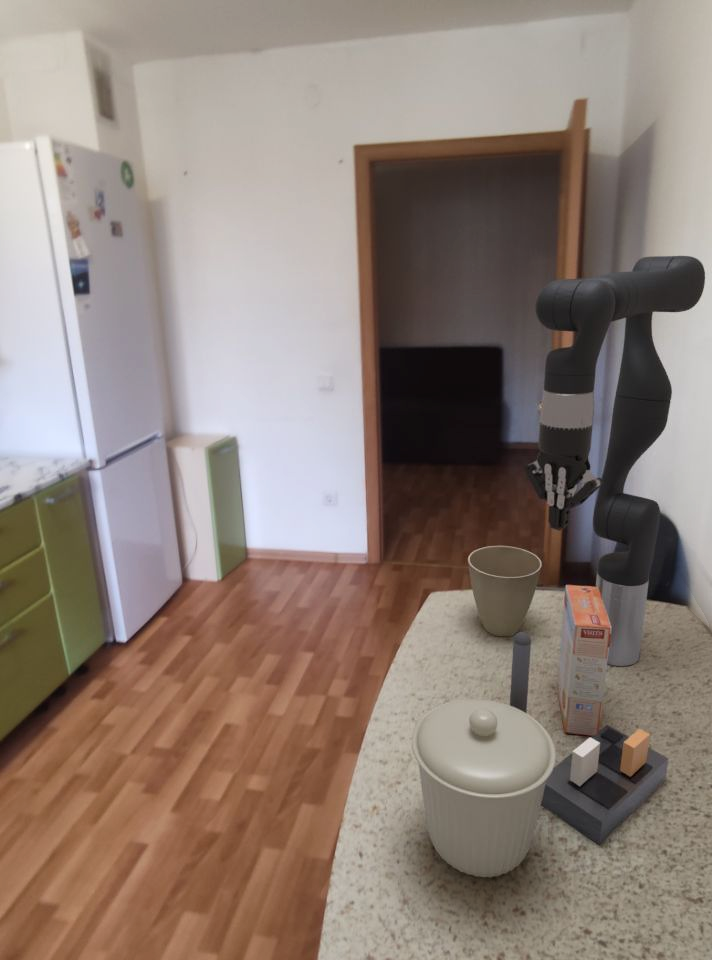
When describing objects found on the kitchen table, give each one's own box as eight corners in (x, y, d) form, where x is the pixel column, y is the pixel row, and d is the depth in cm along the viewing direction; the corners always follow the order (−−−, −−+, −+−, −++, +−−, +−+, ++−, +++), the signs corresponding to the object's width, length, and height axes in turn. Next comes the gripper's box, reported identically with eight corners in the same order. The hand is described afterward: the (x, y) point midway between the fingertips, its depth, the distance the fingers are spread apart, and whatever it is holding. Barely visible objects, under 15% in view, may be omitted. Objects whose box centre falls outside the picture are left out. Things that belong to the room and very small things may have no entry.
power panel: (604, 745, 107) (607, 723, 105) (665, 780, 99) (668, 756, 98) (537, 801, 96) (539, 778, 94) (599, 845, 88) (602, 820, 87)
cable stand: (509, 756, 105) (517, 615, 97) (547, 780, 100) (558, 634, 92) (480, 777, 101) (486, 632, 93) (518, 804, 95) (527, 653, 87)
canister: (544, 801, 96) (554, 678, 89) (550, 916, 79) (563, 775, 73) (420, 783, 100) (421, 663, 93) (401, 888, 83) (401, 752, 77)
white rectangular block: (587, 765, 96) (590, 737, 95) (597, 771, 95) (600, 742, 94) (569, 779, 94) (572, 751, 92) (579, 786, 93) (582, 757, 91)
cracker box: (601, 738, 108) (613, 626, 101) (562, 734, 109) (572, 623, 103) (589, 687, 121) (600, 585, 114) (555, 683, 122) (564, 582, 116)
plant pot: (452, 621, 144) (453, 554, 139) (506, 604, 151) (509, 540, 146) (495, 654, 132) (498, 583, 127) (552, 635, 138) (557, 566, 133)
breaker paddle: (635, 756, 98) (639, 728, 96) (646, 762, 97) (650, 734, 95) (620, 770, 95) (623, 742, 94) (630, 776, 94) (634, 748, 92)
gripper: (621, 423, 95) (609, 534, 100) (543, 409, 105) (537, 511, 110) (592, 432, 90) (581, 547, 96) (514, 417, 100) (508, 522, 106)
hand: (558, 528), depth 103 cm, fingers closed
